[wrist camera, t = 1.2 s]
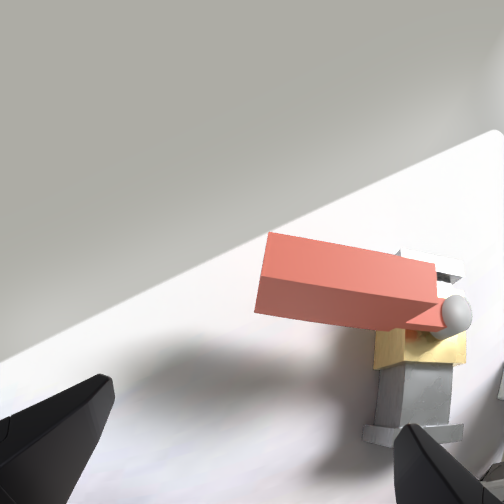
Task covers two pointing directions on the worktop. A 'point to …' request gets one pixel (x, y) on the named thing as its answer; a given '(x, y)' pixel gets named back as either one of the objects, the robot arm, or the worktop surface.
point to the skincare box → (501, 389)
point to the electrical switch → (495, 480)
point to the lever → (355, 288)
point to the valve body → (418, 371)
